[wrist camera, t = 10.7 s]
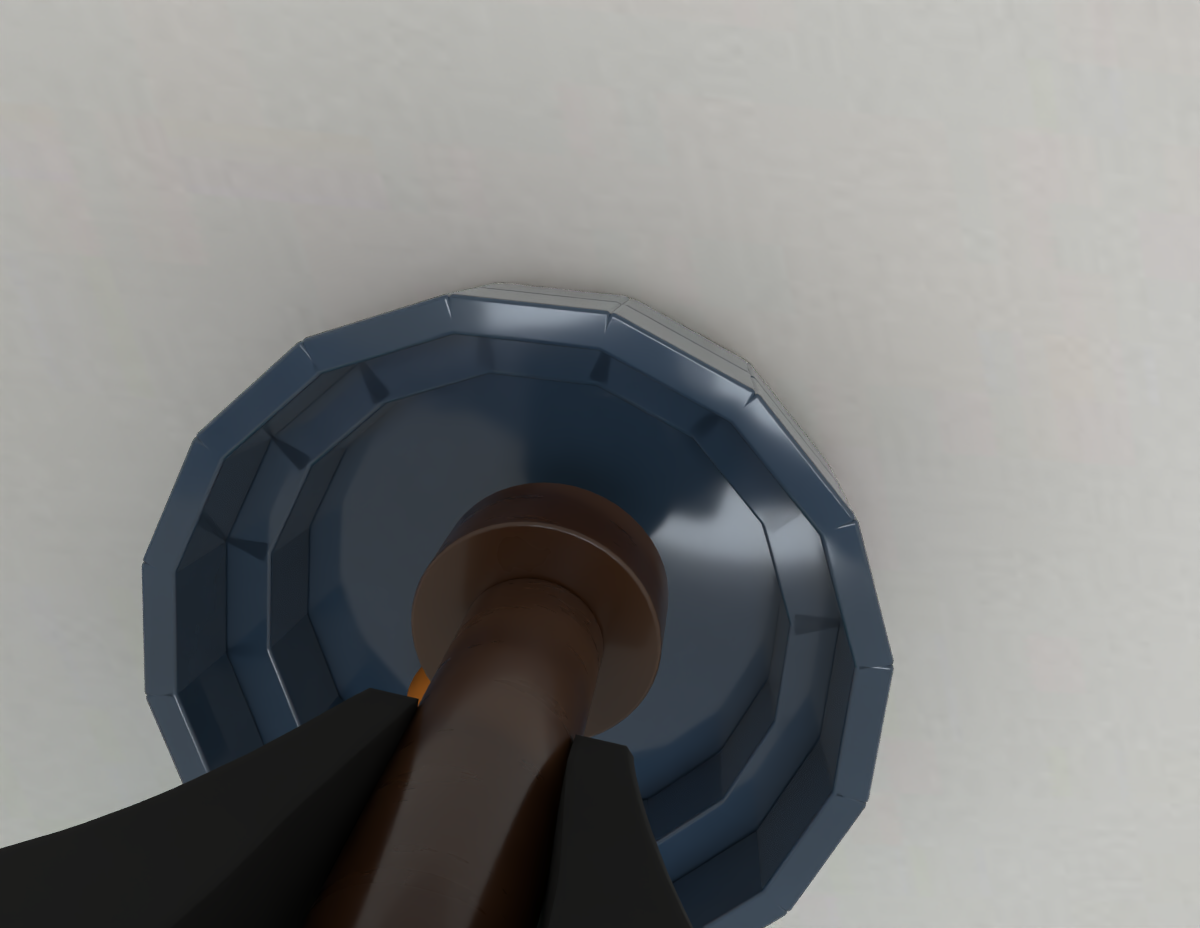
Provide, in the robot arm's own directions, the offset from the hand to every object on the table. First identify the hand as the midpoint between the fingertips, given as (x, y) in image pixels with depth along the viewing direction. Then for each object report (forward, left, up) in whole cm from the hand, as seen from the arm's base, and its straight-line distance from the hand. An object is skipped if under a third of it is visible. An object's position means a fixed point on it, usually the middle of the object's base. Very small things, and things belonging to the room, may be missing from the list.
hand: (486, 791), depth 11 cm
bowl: (-1, 0, -8) cm, 8 cm away
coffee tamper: (+1, +1, -4) cm, 4 cm away
